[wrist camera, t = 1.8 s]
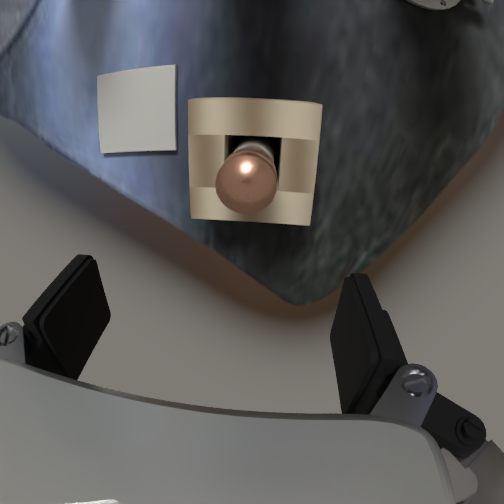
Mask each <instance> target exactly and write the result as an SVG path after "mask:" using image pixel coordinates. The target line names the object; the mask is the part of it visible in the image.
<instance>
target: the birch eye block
mask: <svg viewBox="0 0 504 504" xmlns="http://www.w3.org/2000/svg"><path fill="white" fill-rule="evenodd" d="M321 117H322V105H321V104H318V103H314V102H305V101H294V100H281V99H265V98H237V97H205V98H195V99H188V144H189V182H190V206H191V219H212V220H230V221H248V222H264V223H279V224H294V225H307V226H310V220H311V212H312V204H313V196H314V187H315V179H316V170H317V160H318V150H319V140H320V129H321ZM233 135H246V136H267V137H280V145H279V161H278V174H276V175H277V190H276V194H275V197H274V199H273V201H272V202H271V203H270V205H268V206H267V207H266V208H265V209H263V210H262V211H260V212H257V213H253V214H240V213H237V212H234V211H232V210H230V209H228V208H227V207H226V206H225V205H224V204H223V203H222V202H221V201H220V199H219V197H218V195H217V193H216V188H215V181H216V176H217V174H218V172H219V170H220V168H221V167H222V165H223V164H224V162H225V160H226V159H227V158H228V157H229V156H230V155H231V154H232V138H233Z"/></svg>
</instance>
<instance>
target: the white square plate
mask: <svg viewBox="0 0 504 504" xmlns="http://www.w3.org/2000/svg"><path fill="white" fill-rule="evenodd" d="M176 85H177V65H165V66H155V67H147V68H139V69H132V70H125V71H119V72H113V73H108V74H102V75H97V98H98V121H99V136H100V148H101V153H114V152H132V151H159V150H177V117H176Z"/></svg>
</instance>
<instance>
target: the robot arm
mask: <svg viewBox="0 0 504 504" xmlns="http://www.w3.org/2000/svg"><path fill="white" fill-rule="evenodd" d="M406 1H408V2H410V3H412V4H414V5H416V6H419V7H421V8H425V9H428V10H445V9H448V8H451V7H453V6H455V5H456V4H457V3H458V2H459V1H460V0H406ZM481 1H483V2H485V3H487V4H489V5H490V4H492V3H493V1H494V0H481ZM110 316H111V314H110V310H109V306H108V303H107V299H106V296H105V292H104V289H103V285H102V281H101V278H100V274H99V270H98V266H97V262H96V260H94V259H93V257H92V256H90V255H80V254H79V255H77V256H76V257H75V258H74V259H73V260H72V261H71V262H70V263H69V264H68V265H67V266H66V267H65V268H64V270H63V271H62V272H61V273H60V274H59V275H58V276H57V278H56V279H55V280H54V281H53V282H52V283H51V284H50V285H49V286H48V288H47V289H46V290H45V291H44V292H43V293H42V294H41V296H40V297H39V298H38V299H37V301H36V302H35V303H34V304H33V305H32V306H31V308H30V309H29V310H28V312H27V313H26V314H25V315H24V316H23V318H22V319H23V322H24V324H25V325H24V326H23V327H22V326H21V325H20V324H19V323H17V322H9V323H6V324H4V325H2V326H1V327H0V504H504V453H503V452H502V451H501V450H500V448H499V447H498V446H497V445H496V444H495V443H494V442H493V441H492V440H490V441H489V442H488V441H487V440H486V439H485V438H486V429H485V426H484V424H483V422H482V421H481V420H480V419H479V418H478V417H477V416H476V415H474V414H472V413H470V412H469V411H467V410H465V409H464V408H462V407H460V406H459V405H457V404H455V403H454V402H452V401H450V400H449V399H447V398H446V397H444V396H442V395H441V394H439V393H437V387H438V385H437V380H436V378H435V376H434V374H433V373H432V372H431V371H430V370H429V369H427V368H426V367H424V366H422V365H419V364H408V363H407V360H406V357H405V355H404V352H403V349H402V347H401V344H400V342H399V339H398V337H397V334H396V331H395V329H394V326H393V324H392V321H391V319H390V317H389V314H388V313H387V311H385V310H382V308H381V306H380V303H379V300H378V298H377V296H376V293H375V291H374V289H373V287H372V284H371V282H370V280H369V277H368V275H367V274H360V273H351V274H350V277H345V279H344V283H343V287H342V291H341V295H340V299H339V303H338V307H337V311H336V314H335V318H334V322H333V325H332V329H331V333H330V342H331V347H332V353H333V359H334V365H335V371H336V377H337V384H338V390H339V397H340V404H341V410H342V414H305V413H276V412H257V411H243V410H232V409H222V408H213V407H205V406H197V405H189V404H183V403H177V402H170V401H164V400H159V399H153V398H148V397H143V396H138V395H134V394H129V393H124V392H120V391H115V390H112V389H107V388H103V387H99V386H96V385H91V384H88V383H84V382H81V381H78V380H77V379H78V377H79V376H80V374H81V372H82V370H83V368H84V366H85V364H86V362H87V360H88V359H89V357H90V355H91V353H92V351H93V349H94V347H95V346H96V344H97V342H98V340H99V338H100V336H101V335H102V333H103V331H104V330H105V328H106V326H107V324H108V323H109V321H110Z"/></svg>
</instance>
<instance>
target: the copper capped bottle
mask: <svg viewBox="0 0 504 504" xmlns="http://www.w3.org/2000/svg"><path fill="white" fill-rule="evenodd" d="M215 188H216V193H217V195H218V197H219V199H220V201H221V202H222V203H223V204H224V205H225V206H226V207H227V208H228V209H230V210H232V211H234V212H237V213H240V214H253V213H257V212H260V211H262V210H263V209H265V208H266V207H267V206H268V205H270V203H271V202H272V201H273V199H274V197H275V194H276V190H277V175H276V168H275V165H274V149H273V145H272V143H271V141H270V140H269V139H268V138H267V137H266V136H245V137H244V138H243V139H242V140H241V141H240V143H239V144H238V146H237V147H236V149H235V151H234V152H233V153H232V154H231V155H230V156H229V157H228V158H227V159H226V160H225V162H224V164H223V165H222V167H221V168H220V170H219V172H218V174H217V176H216V181H215Z"/></svg>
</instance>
